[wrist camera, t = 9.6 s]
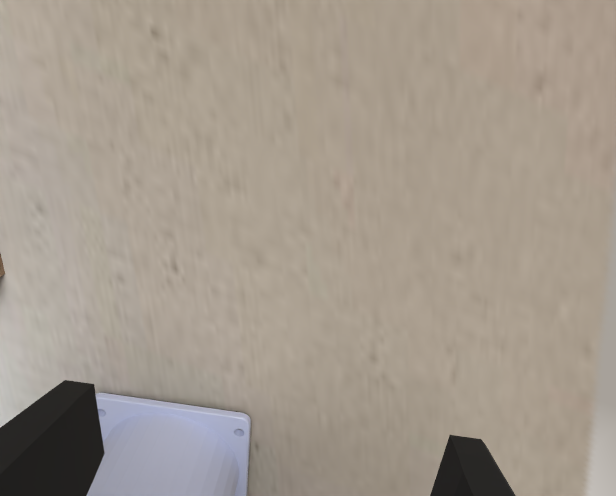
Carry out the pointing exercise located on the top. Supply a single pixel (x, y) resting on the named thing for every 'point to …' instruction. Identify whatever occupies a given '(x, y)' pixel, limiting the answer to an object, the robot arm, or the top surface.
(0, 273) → the walnut block
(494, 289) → the top surface
